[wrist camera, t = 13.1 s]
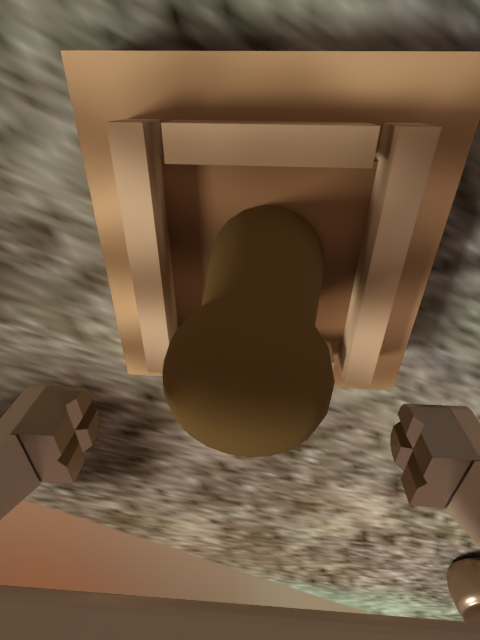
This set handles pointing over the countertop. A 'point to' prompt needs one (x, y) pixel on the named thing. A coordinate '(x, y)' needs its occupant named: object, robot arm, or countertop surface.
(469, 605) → the plastic bottle
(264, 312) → the cork
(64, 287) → the countertop surface
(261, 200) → the display stand
